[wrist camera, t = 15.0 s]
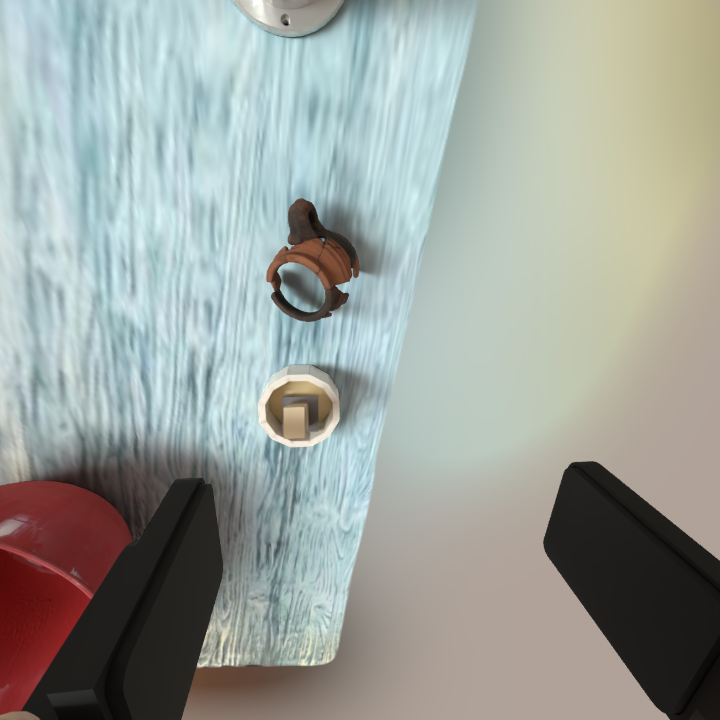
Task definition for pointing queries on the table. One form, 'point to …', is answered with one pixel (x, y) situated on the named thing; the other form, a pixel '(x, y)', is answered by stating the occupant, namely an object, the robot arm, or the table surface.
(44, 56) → the table surface
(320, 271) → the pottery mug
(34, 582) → the mixing bowl
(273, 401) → the cream faceted bowl
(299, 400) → the wall mounted peg
